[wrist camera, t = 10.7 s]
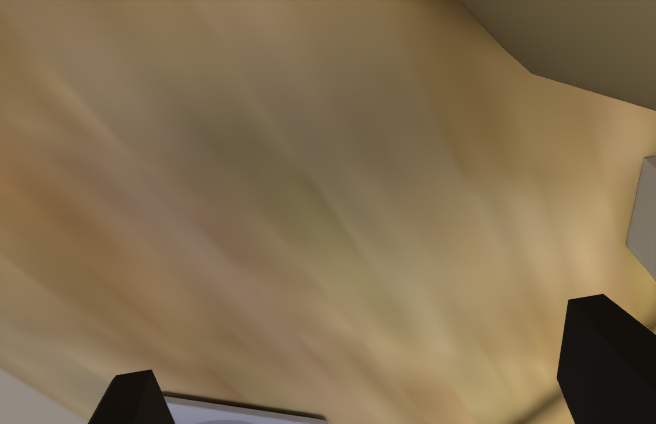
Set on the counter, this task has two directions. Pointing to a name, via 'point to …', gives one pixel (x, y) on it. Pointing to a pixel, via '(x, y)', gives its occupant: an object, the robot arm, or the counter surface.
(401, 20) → the counter surface
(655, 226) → the grey u-shaped block
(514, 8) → the squeeze bottle
